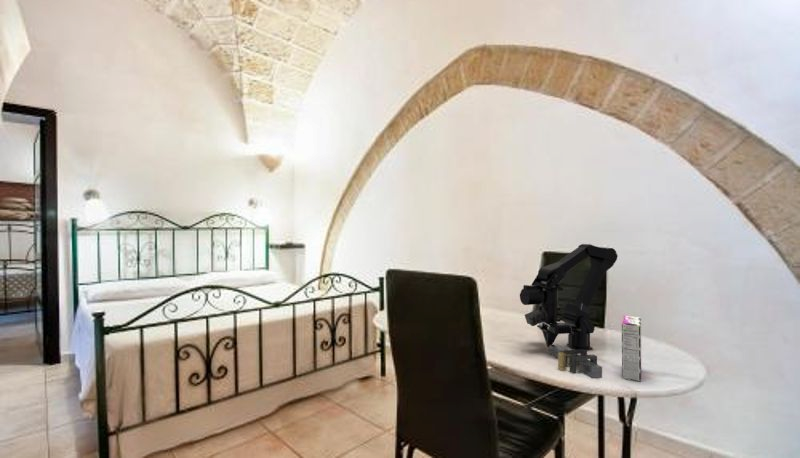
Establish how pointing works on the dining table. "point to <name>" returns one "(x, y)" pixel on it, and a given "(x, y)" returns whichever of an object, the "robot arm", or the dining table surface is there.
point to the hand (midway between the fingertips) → (549, 347)
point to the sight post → (562, 361)
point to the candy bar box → (631, 348)
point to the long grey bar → (579, 363)
